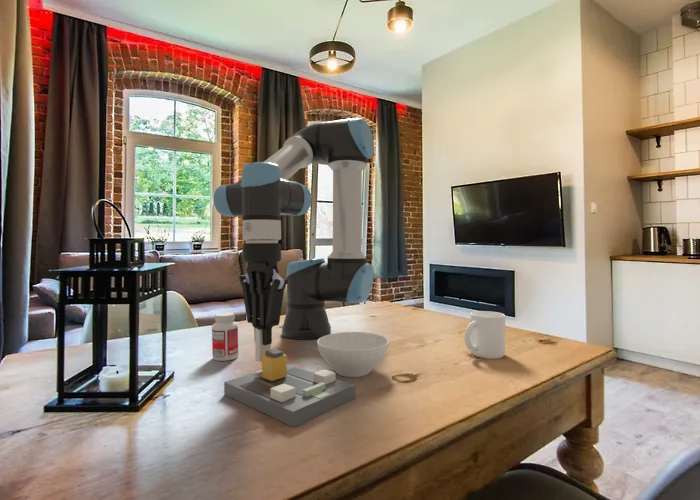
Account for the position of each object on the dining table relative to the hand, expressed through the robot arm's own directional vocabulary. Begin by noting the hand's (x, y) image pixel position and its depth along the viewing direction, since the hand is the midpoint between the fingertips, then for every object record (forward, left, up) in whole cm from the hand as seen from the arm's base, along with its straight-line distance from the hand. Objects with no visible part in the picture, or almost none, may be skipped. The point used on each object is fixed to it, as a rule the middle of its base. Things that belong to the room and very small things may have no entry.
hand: (263, 359), depth 80 cm
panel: (+8, 0, -6) cm, 9 cm away
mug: (+25, +49, -6) cm, 55 cm away
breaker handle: (+3, 0, -3) cm, 4 cm away
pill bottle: (-23, +6, -6) cm, 25 cm away
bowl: (+8, +19, -6) cm, 21 cm away
